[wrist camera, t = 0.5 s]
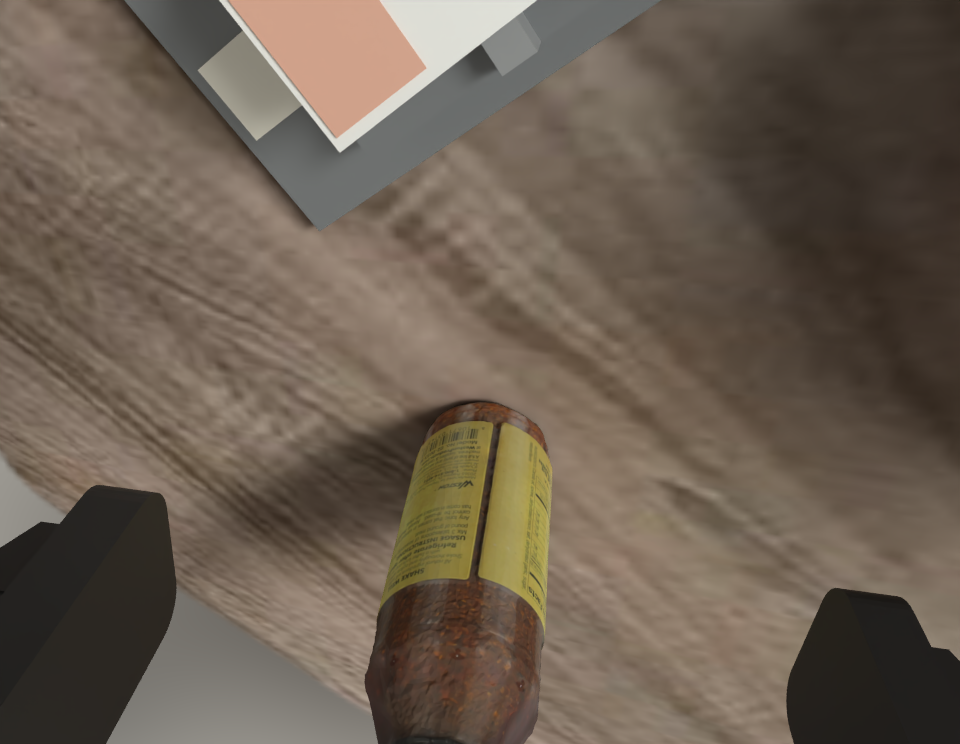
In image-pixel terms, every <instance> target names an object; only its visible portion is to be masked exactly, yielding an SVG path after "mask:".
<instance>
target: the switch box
mask: <svg viewBox="0 0 960 744" xmlns="http://www.w3.org/2000/svg"><path fill="white" fill-rule="evenodd" d="M659 1H661V0H537V1H535V2H534V3H533V4H531V5H530V6H529V7H528V8H526V9H525V10H524V11H522V12H521V13H520V14H519V15H517V16H516V17H515V18H513V19H512V20H511V21H510V22H508V23H507V24H506V25H504V26H503V27H502V28H500V29H499V30H498V31H497V32H495V33H494V34H493V35H491V36H490V37H489V38H488V39H486V40H485V41H484V42H482V43H481V44H480V45H479V46H477V47H476V48H475V49H473V50H472V51H471V52H469V53H468V54H467V55H466V56H464V57H463V58H462V59H460V60H459V61H458V62H457V63H455V64H454V65H453V66H451V67H450V68H449V69H448V70H446V71H445V72H444V73H442V74H441V75H440V76H438V77H437V78H436V79H435V80H433V81H432V82H431V83H429V84H428V85H427V86H426V87H424V88H423V89H422V90H420V91H419V92H418V93H417V94H415V95H414V96H413V97H411V98H410V99H409V100H407V101H406V102H405V103H404V104H402V105H401V106H400V107H398V108H397V109H396V110H395V111H393V112H392V113H391V114H389V115H388V116H387V117H386V118H384V119H383V120H382V121H380V122H379V123H378V124H376V125H375V126H374V127H373V128H371V129H370V130H369V131H367V132H366V133H365V134H364V135H362V136H361V137H360V138H358V139H357V140H356V141H354V142H353V143H352V144H351V145H349V146H348V147H347V148H345V149H344V150H343V151H342V152H339V151H338V150H337V149H336V147H335V146H334V145H333V144H332V142H331V141H330V140H329V139H328V137H327V136H326V135H325V133H324V132H323V131H322V130H321V128H320V127H319V126H318V125H317V123H316V122H315V121H314V120H313V118H312V117H311V116H310V115H309V113H308V112H307V111H306V109H305V108H304V107H303V106H302V104H301V103H300V102H299V101H298V99H297V98H296V97H295V96H294V94H293V93H292V92H291V90H290V89H289V88H288V87H287V85H286V84H285V83H284V82H283V80H282V79H281V78H280V77H279V75H278V74H277V73H276V72H275V70H274V69H273V68H272V66H271V65H270V64H269V63H268V61H267V60H266V59H265V58H264V56H263V55H262V54H261V53H260V51H259V50H258V49H257V48H256V46H255V45H254V44H253V42H252V41H251V40H250V39H249V37H248V36H247V35H246V34H245V32H244V31H243V30H242V29H241V27H240V26H239V25H238V23H237V22H236V21H235V20H234V18H233V17H232V16H231V15H230V13H229V12H228V11H227V10H226V8H225V7H224V6H223V5H222V3H221V2H220V1H219V0H125V2H126V3H127V4H128V5H129V6H130V8H131V9H132V10H133V11H134V12H135V14H136V15H137V16H138V17H139V18H140V19H141V21H142V22H143V23H144V24H145V25H146V27H147V28H148V29H149V30H150V31H151V32H152V34H153V35H154V36H155V37H156V38H157V40H158V41H159V42H160V43H161V44H162V45H163V47H164V48H165V49H166V50H167V51H168V53H169V54H170V55H171V56H172V57H173V59H174V60H175V61H176V62H177V63H178V64H179V66H180V67H181V68H182V69H183V70H184V72H185V73H186V74H187V75H188V76H189V77H190V79H191V80H192V81H193V82H194V83H195V85H196V86H197V87H198V88H199V89H200V90H201V92H202V93H203V94H204V95H205V96H206V98H207V99H208V100H209V101H210V102H211V104H212V105H213V106H214V107H215V108H216V109H217V111H218V112H219V113H220V114H221V115H222V117H223V118H224V119H225V120H226V121H227V122H228V124H229V125H230V126H231V127H232V128H233V130H234V131H235V132H236V133H237V134H238V135H239V137H240V138H241V139H242V140H243V141H244V143H245V144H246V145H247V146H248V147H249V149H250V150H251V151H252V152H253V153H254V154H255V156H256V157H257V158H258V159H259V160H260V162H261V163H262V164H263V165H264V166H265V167H266V169H267V170H268V171H269V172H270V173H271V175H272V176H273V177H274V178H275V179H276V180H277V182H278V183H279V184H280V185H281V186H282V188H283V189H284V190H285V191H286V192H287V194H288V195H289V196H290V197H291V198H292V199H293V201H294V202H295V203H296V204H297V205H298V207H299V208H300V209H301V210H302V211H303V212H304V214H305V215H306V216H307V217H308V218H309V220H310V221H311V222H312V223H313V224H314V225H315V227H316V228H317V229H318V230H319V231H321V230H322V229H324V228H325V227H327V226H328V225H330V224H331V223H333V222H334V221H336V220H337V219H339V218H340V217H342V216H343V215H345V214H346V213H347V212H349V211H350V210H352V209H353V208H355V207H356V206H358V205H359V204H361V203H362V202H364V201H365V200H367V199H368V198H370V197H371V196H373V195H374V194H376V193H377V192H378V191H380V190H381V189H383V188H384V187H386V186H387V185H389V184H390V183H392V182H393V181H395V180H396V179H398V178H399V177H401V176H402V175H404V174H405V173H407V172H408V171H410V170H411V169H412V168H414V167H415V166H417V165H418V164H420V163H421V162H423V161H424V160H426V159H427V158H429V157H430V156H432V155H433V154H435V153H436V152H438V151H439V150H441V149H442V148H443V147H445V146H446V145H448V144H449V143H451V142H452V141H454V140H455V139H457V138H458V137H460V136H461V135H463V134H464V133H466V132H467V131H469V130H470V129H472V128H473V127H475V126H476V125H477V124H479V123H480V122H482V121H483V120H485V119H486V118H488V117H489V116H491V115H492V114H494V113H495V112H497V111H498V110H500V109H501V108H503V107H504V106H506V105H507V104H508V103H510V102H511V101H513V100H514V99H516V98H517V97H519V96H520V95H522V94H523V93H525V92H526V91H528V90H529V89H531V88H532V87H534V86H535V85H537V84H538V83H540V82H541V81H542V80H544V79H545V78H547V77H548V76H550V75H551V74H553V73H554V72H556V71H557V70H559V69H560V68H562V67H563V66H565V65H566V64H568V63H569V62H571V61H572V60H573V59H575V58H576V57H578V56H579V55H581V54H582V53H584V52H585V51H587V50H588V49H590V48H591V47H593V46H594V45H596V44H597V43H599V42H600V41H602V40H603V39H605V38H606V37H607V36H609V35H610V34H612V33H613V32H615V31H616V30H618V29H619V28H621V27H622V26H624V25H625V24H627V23H628V22H630V21H631V20H633V19H634V18H636V17H637V16H638V15H640V14H641V13H643V12H644V11H646V10H647V9H649V8H650V7H652V6H653V5H655V4H656V3H658V2H659Z"/></svg>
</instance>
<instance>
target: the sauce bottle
mask: <svg viewBox="0 0 960 744" xmlns="http://www.w3.org/2000/svg"><path fill="white" fill-rule="evenodd" d="M551 493H552V467H551V464H550V461H549V455H548V448H547V445H546V443H545V440H544V436H543V433H542V431H541V430H540V428H539V427H538V426H537V424H535V423H533V422H532V421H531V420H529V419H528V418H527V417H526V416H524V415H522V414H520V413H518V412H516V411H514V410H512V409H510V408H507V407H505V406H503V405H499V404H497V403H487V402H476V403H469V404H467V405H459V406H456V407H453V408H452V409H450V410H447V411H445V412H444V413H442V414H441V415H440V416H439V417H438V418H437V419H436V420H435V422H434V423H433V424H432V426H431V427H430V429H429V430H428V432H427V434H426V436H425V439H424V441H423V444H422V447H421V448H420V451H419V453H418V456H417V458H416V462H415V465H414V470H413V474H412V478H411V483H410V487H409V491H408V495H407V499H406V503H405V507H404V510H403V514H402V518H401V522H400V527H399V531H398V535H397V539H396V544H395V548H394V551H393V555H392V559H391V563H390V567H389V571H388V575H387V579H386V583H385V588H384V592H383V596H382V600H381V604H380V608H379V612H378V616H377V631H376V636H375V643H374V646H373V652H372V654H371V657H370V663H369V666H368V671H367V672H366V674H365V688H366V692H367V695H368V698H369V701H370V705H371V710H372V715H373V720H374V725H375V730H376V735H377V740H378V744H524V743H525V741H526V740H527V738H528V737H529V736H530V735H531V734H532V732H533V729H534V726H535V723H536V721H537V717H538V702H539V691H540V681H541V676H540V668H541V650H542V648H543V644H544V638H545V618H546V594H547V570H548V548H549V528H550V512H551Z"/></svg>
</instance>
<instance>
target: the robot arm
mask: <svg viewBox="0 0 960 744" xmlns="http://www.w3.org/2000/svg"><path fill="white" fill-rule="evenodd" d="M175 599H176V577H175V569H174V561H173V553H172V545H171V537H170V529H169V521H168V513H167V506H166V502H165V499H164V497H163V496H162V495H161V494H160V493H155V492H148V491H141V490H133V489H126V488H119V487H111V486H104V485H95V486H93V487H91V488H90V489H89V490H87V491H86V493H85V494H84V495H83V496H82V497H81V498H80V500H79V501H78V502H77V503H76V505H75V506H74V507H73V508H72V509H71V511H70V512H69V513H68V514H67V516H66V517H65V518H64V519H63V521H62V522H61V523H60V524H54V523H47V522H40V523H38V524H37V525H35V526H34V527H32V528H30V529H29V530H27V531H26V532H24V533H23V534H21V535H19V536H18V537H16V538H15V539H13V540H12V541H10V542H9V543H7V544H5V545H4V546H2V547H1V548H0V744H106V743H107V741H108V739H109V737H110V735H111V733H112V731H113V730H114V728H115V726H116V724H117V722H118V721H119V718H120V717H121V715H122V713H123V711H124V709H125V708H126V706H127V704H128V702H129V700H130V698H131V697H132V695H133V693H134V691H135V689H136V687H137V685H138V683H139V682H140V680H141V678H142V676H143V675H144V673H145V671H146V669H147V667H148V665H149V664H150V662H151V660H152V658H153V656H154V654H155V652H156V651H157V649H158V647H159V645H160V643H161V641H162V640H163V638H164V636H165V634H166V631H167V629H168V627H169V624H170V621H171V618H172V614H173V610H174V605H175ZM786 702H787V717H788V723H789V727H790V731H791V735H792V738H793V742H794V744H960V661H959V660H958V659H957V658H956V657H955V656H954V655H953V654H952V653H951V652H950V651H949V650H948V649H941V648H933V647H931V645H930V643H929V641H928V639H927V637H926V635H925V633H924V631H923V629H922V627H921V625H920V623H919V621H918V619H917V617H916V615H915V613H914V612H913V610H912V608H911V606H910V605H909V604H908V602H907V601H906V600H904V599H903V598H901V597H898V596H891V595H884V594H877V593H869V592H862V591H855V590H847V589H840V588H834V589H831V590H830V591H829V592H828V593H827V594H826V595H825V597H824V599H823V601H822V603H821V605H820V608H819V610H818V612H817V614H816V616H815V619H814V621H813V623H812V625H811V628H810V630H809V632H808V634H807V637H806V639H805V641H804V643H803V646H802V648H801V650H800V652H799V654H798V657H797V659H796V661H795V663H794V666H793V668H792V670H791V673H790V676H789V680H788V686H787V700H786Z"/></svg>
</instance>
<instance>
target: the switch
mask: <svg viewBox="0 0 960 744" xmlns="http://www.w3.org/2000/svg"><path fill="white" fill-rule="evenodd" d="M219 1H220V2H221V3H222V5H223V6H224V7H225V8H226V10H227V11H228V12H229V13H230V15H231V16H232V17H233V18H234V20H235V21H236V22H237V23H238V25H239V26H240V27H241V29H242V30H243V31H244V32H245V34H246V35H247V36H248V37H249V39H250V40H251V41H252V42H253V44H254V45H255V46H256V48H257V49H258V50H259V51H260V53H261V54H262V55H263V56H264V58H265V59H266V60H267V61H268V63H269V64H270V65H271V66H272V68H273V69H274V70H275V72H276V73H277V74H278V75H279V77H280V78H281V79H282V80H283V82H284V83H285V84H286V85H287V87H288V88H289V89H290V90H291V92H292V93H293V94H294V96H295V97H296V98H297V99H298V101H299V102H300V103H301V104H302V106H303V107H304V108H305V109H306V111H307V112H308V113H309V115H310V116H311V117H312V118H313V120H314V121H315V122H316V123H317V125H318V126H319V127H320V128H321V130H322V131H323V132H324V133H325V135H326V136H327V137H328V139H329V140H330V141H331V142H332V144H333V145H334V146H335V147H336V149H337V150H338V151H339V152H342V151H343V150H344V149H345V148H347V147H348V146H349V145H351V144H352V143H353V142H354V141H356V140H357V139H358V138H360V137H361V136H362V135H364V134H365V133H366V132H367V131H369V130H370V129H371V128H373V127H374V126H375V125H376V124H378V123H379V122H380V121H382V120H383V119H384V118H386V117H387V116H388V115H389V114H391V113H392V112H393V111H395V110H396V109H397V108H398V107H400V106H401V105H402V104H404V103H405V102H406V101H407V100H409V99H410V98H411V97H413V96H414V95H415V94H417V93H418V92H419V91H420V90H422V89H423V88H424V87H426V86H427V85H428V84H429V83H431V82H432V81H433V80H435V79H436V78H437V77H438V76H440V75H441V74H442V73H444V72H445V71H446V70H448V69H449V68H450V67H451V66H453V65H454V64H455V63H457V62H458V61H459V60H460V59H462V58H463V57H464V56H466V55H467V54H468V53H469V52H471V51H472V50H473V49H475V48H476V47H477V46H479V45H480V44H481V43H482V42H484V41H485V40H486V39H488V38H489V37H490V36H491V35H493V34H494V33H495V32H497V31H498V30H499V29H500V28H502V27H503V26H504V25H506V24H507V23H508V22H510V21H511V20H512V19H513V18H515V17H516V16H517V15H519V14H520V13H521V12H522V11H524V10H525V9H526V8H528V7H529V6H530V5H531V4H533V3H534V2H535V1H537V0H219Z"/></svg>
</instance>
